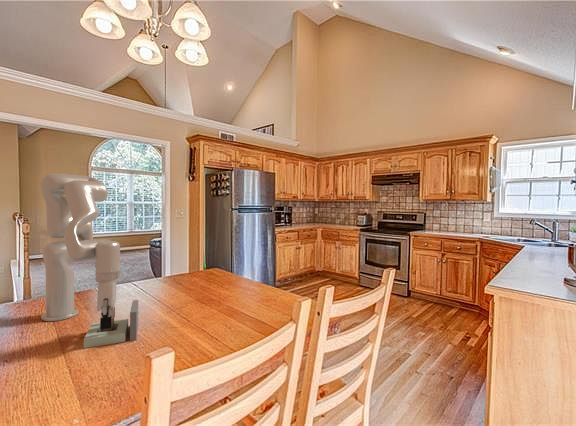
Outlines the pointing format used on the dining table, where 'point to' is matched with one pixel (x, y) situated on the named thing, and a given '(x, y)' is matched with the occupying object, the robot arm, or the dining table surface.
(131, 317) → the low wall
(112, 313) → the walnut peg
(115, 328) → the socket block
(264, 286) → the dining table surface
